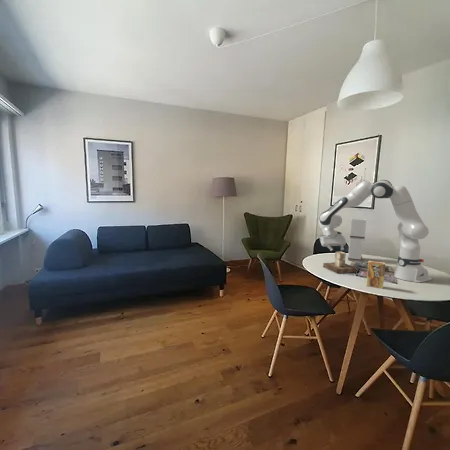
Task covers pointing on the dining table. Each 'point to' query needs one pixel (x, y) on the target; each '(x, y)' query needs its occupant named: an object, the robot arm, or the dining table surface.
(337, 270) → the walnut plinth
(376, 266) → the candy box
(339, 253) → the birch block
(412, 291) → the dining table surface
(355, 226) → the display case
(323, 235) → the robot arm
